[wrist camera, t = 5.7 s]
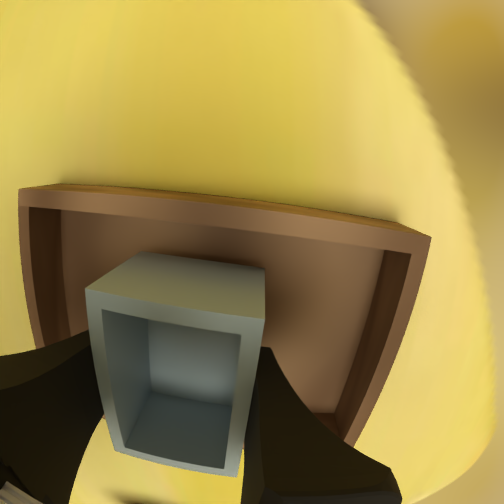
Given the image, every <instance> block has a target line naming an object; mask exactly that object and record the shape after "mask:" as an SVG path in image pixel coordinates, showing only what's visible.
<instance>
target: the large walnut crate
mask: <svg viewBox="0 0 504 504" xmlns="http://www.w3.org/2000/svg"><path fill="white" fill-rule="evenodd" d="M18 217H19V241H20V254H21V265H22V274H23V282H24V289H25V296H26V302H27V308H28V313H29V318H30V323H31V328H32V333H33V337H34V341H35V345H36V349H38V348H42V347H45V346H48V345H51V344H53V343H56V342H59V341H61V340H64V339H67V338H69V337H72V336H74V335H77V334H79V333H81V332H84V331H86V330H88V329H89V326H88V317H87V307H86V296H85V288H86V287H88V286H89V285H91V284H92V283H93V282H95V281H96V280H98V279H99V278H101V277H102V276H104V275H105V274H107V273H108V272H110V271H111V270H113V269H114V268H116V267H117V266H119V265H120V264H122V263H124V262H125V261H127V260H128V259H130V258H131V257H133V256H134V255H136V254H137V253H139V252H141V251H144V252H151V253H158V254H165V255H172V256H179V257H186V258H193V259H201V260H208V261H215V262H223V263H230V264H238V265H245V266H253V267H260V268H265V323H264V329H263V335H262V341H261V346H263V347H270V348H271V349H272V350H273V353H274V355H275V358H276V360H277V362H278V364H279V366H280V368H281V370H282V371H283V373H284V375H285V376H286V378H287V380H288V381H289V383H290V385H291V386H292V388H293V389H294V391H295V392H296V393H297V395H298V396H299V397H300V399H301V400H302V401H303V403H304V404H305V405H306V406H307V408H308V409H309V410H310V411H311V412H312V413H313V414H314V415H315V416H316V417H317V419H318V420H319V421H321V422H322V423H323V424H324V425H325V426H326V427H327V428H328V429H330V430H331V431H332V432H333V433H334V434H335V435H337V436H338V437H339V438H340V439H342V440H343V441H344V442H346V443H347V444H349V445H350V446H352V447H354V445H355V443H356V441H357V439H358V438H359V436H360V434H361V432H362V430H363V428H364V426H365V424H366V422H367V420H368V418H369V416H370V414H371V412H372V410H373V408H374V406H375V404H376V402H377V400H378V398H379V395H380V393H381V391H382V389H383V387H384V384H385V382H386V380H387V377H388V375H389V373H390V370H391V368H392V365H393V363H394V360H395V358H396V355H397V353H398V350H399V347H400V345H401V342H402V339H403V336H404V334H405V331H406V328H407V325H408V322H409V319H410V316H411V313H412V310H413V307H414V303H415V300H416V297H417V293H418V290H419V286H420V283H421V279H422V275H423V272H424V268H425V264H426V260H427V256H428V251H429V247H430V242H431V238H432V237H430V236H428V235H425V234H423V233H421V232H418V231H416V230H414V229H411V228H409V227H407V226H404V225H402V224H399V223H395V222H390V221H385V220H379V219H374V218H368V217H363V216H357V215H351V214H345V213H339V212H333V211H327V210H320V209H314V208H307V207H300V206H294V205H287V204H279V203H272V202H265V201H257V200H249V199H241V198H233V197H224V196H215V195H206V194H196V193H186V192H176V191H165V190H153V189H140V188H127V187H112V186H95V185H75V184H53V185H44V186H37V187H29V188H22V189H19V192H18ZM102 418H103V419H106V418H105V414H104V415H103V417H102ZM242 449H244V443H243V448H242Z"/></svg>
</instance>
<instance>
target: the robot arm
mask: <svg viewBox="0 0 504 504" xmlns="http://www.w3.org/2000/svg"><path fill="white" fill-rule="evenodd" d="M103 415H104V410H103V405H102V401H101V397H100V392H99V387H98V382H97V377H96V372H95V367H94V361H93V355H92V348H91V341H90V334H89V329H88V330H86V331H84V332H81V333H79V334H77V335H74V336H72V337H69V338H67V339H64V340H61V341H59V342H56V343H53V344H51V345H48V346H45V347H42V348H38V349H35V350H31V351H27V352H23V353H17V354H11V355H5V356H0V504H5V503H6V504H69V500H70V495H71V491H72V488H73V484H74V481H75V478H76V474H77V471H78V468H79V466H80V463H81V460H82V458H83V455H84V452H85V450H86V448H87V445H88V443H89V440H90V438H91V436H92V434H93V432H94V430H95V428H96V426H97V425H98V423H99V421H100V420H101V418H102V417H103ZM401 502H402V496H401V493H400V490H399V487H398V484H397V481H396V479H395V477H394V475H393V473H392V471H391V469H390V468H389V467H387V466H385V465H383V464H381V463H379V462H377V461H375V460H374V459H372V458H370V457H368V456H366V455H364V454H362V453H361V452H359V451H358V450H356V449H355V448H353V447H352V446H350V445H349V444H347V443H346V442H344V441H343V440H342V439H340V438H339V437H338V436H337V435H335V434H334V433H333V432H332V431H331V430H330V429H328V428H327V427H326V426H325V425H324V424H323V423H322V422H321V421H319V420H318V419H317V417H316V416H315V415H314V414H313V413H312V412H311V411H310V410H309V409H308V408H307V406H306V405H305V404H304V403H303V401H302V400H301V399H300V397H299V396H298V395H297V393H296V392H295V391H294V389H293V388H292V386H291V385H290V383H289V381H288V380H287V378H286V376H285V375H284V373H283V371H282V370H281V368H280V366H279V364H278V362H277V360H276V358H275V355H274V353H273V350H272V349H271V348H270V347H263V346H261V347H260V353H259V359H258V365H257V370H256V376H255V382H254V388H253V393H252V399H251V405H250V410H249V416H248V421H247V427H246V432H245V437H244V476H243V486H242V496H241V504H401Z"/></svg>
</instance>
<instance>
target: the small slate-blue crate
mask: <svg viewBox="0 0 504 504" xmlns="http://www.w3.org/2000/svg"><path fill="white" fill-rule="evenodd" d="M85 296H86V307H87V317H88V326H89V334H90V341H91V348H92V355H93V361H94V367H95V372H96V377H97V382H98V387H99V392H100V397H101V401H102V405H103V410H104V414H105V418H106V422H107V425H108V429H109V433H110V436H111V440H112V443H113V446H114V450H115V451H117V452H120V453H124V454H127V455H130V456H133V457H137V458H140V459H144V460H148V461H151V462H155V463H159V464H163V465H168V466H172V467H176V468H181V469H186V470H191V471H197V472H202V473H208V474H215V475H222V476H230V477H237V474H238V469H239V463H240V458H241V453H242V448H243V443H244V437H245V432H246V427H247V421H248V416H249V410H250V405H251V399H252V393H253V388H254V382H255V376H256V370H257V365H258V359H259V353H260V347H261V341H262V335H263V329H264V323H265V268H260V267H253V266H245V265H238V264H230V263H223V262H215V261H208V260H201V259H193V258H186V257H179V256H172V255H165V254H158V253H151V252H144V251H141V252H139V253H137V254H136V255H134V256H133V257H131V258H130V259H128V260H127V261H125V262H124V263H122V264H120V265H119V266H117V267H116V268H114V269H113V270H111V271H110V272H108V273H107V274H105V275H104V276H102V277H101V278H99V279H98V280H96V281H95V282H93V283H92V284H91V285H89V286H88V287H86V288H85Z"/></svg>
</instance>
